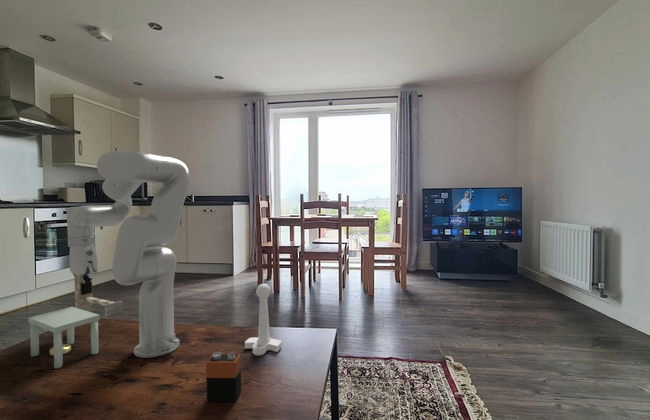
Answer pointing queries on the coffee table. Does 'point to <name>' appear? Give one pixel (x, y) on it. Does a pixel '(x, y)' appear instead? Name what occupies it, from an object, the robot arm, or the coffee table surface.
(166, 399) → the coffee table surface
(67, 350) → the token
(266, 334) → the joystick
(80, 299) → the hoe
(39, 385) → the coffee table surface
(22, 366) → the coffee table surface
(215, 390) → the battery
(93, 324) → the stand
